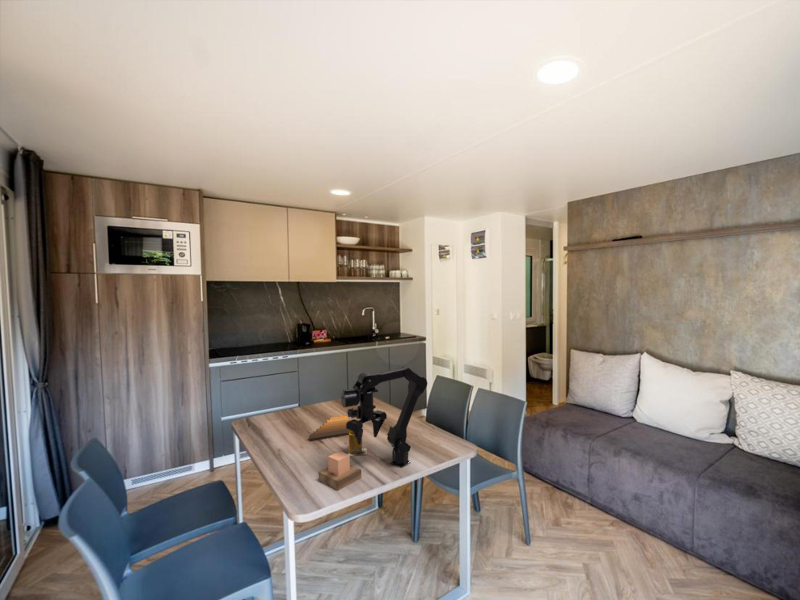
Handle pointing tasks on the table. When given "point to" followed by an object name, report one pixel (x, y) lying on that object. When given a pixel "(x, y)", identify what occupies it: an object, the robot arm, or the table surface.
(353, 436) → the condiment
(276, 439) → the table surface
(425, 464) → the table surface
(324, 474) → the walnut block
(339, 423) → the pan flute
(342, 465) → the terracotta cube
